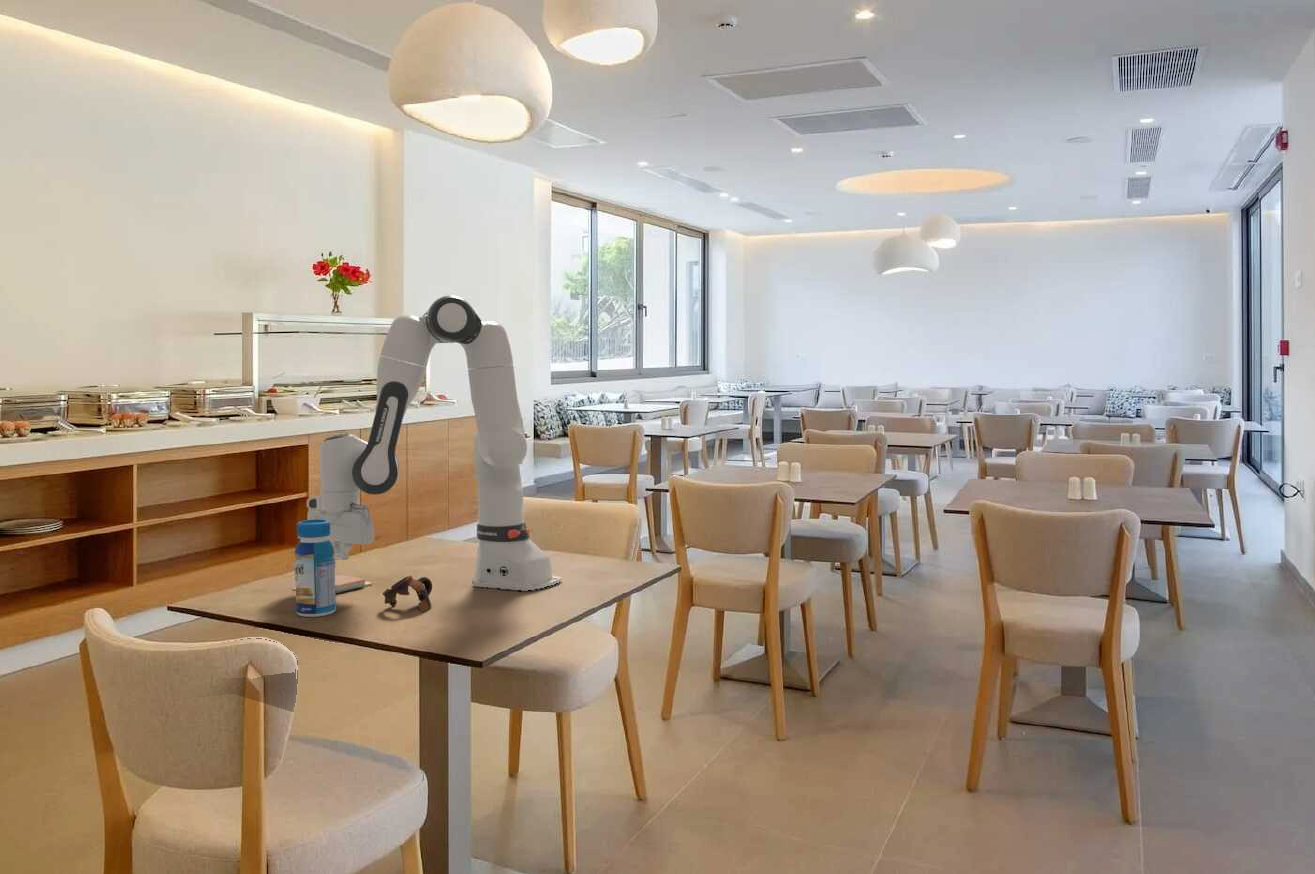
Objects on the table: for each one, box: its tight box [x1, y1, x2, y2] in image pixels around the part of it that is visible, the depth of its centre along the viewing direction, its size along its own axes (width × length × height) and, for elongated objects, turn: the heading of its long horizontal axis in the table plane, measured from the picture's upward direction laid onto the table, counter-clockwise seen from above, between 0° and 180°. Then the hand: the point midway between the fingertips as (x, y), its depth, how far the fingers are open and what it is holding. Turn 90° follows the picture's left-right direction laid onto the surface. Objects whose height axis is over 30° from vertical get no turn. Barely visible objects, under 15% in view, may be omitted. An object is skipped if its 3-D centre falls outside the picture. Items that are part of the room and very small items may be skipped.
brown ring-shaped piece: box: [382, 575, 433, 613], centre depth 219 cm, size 12×10×8 cm
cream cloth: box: [292, 581, 374, 595], centre depth 239 cm, size 12×14×1 cm
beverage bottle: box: [293, 519, 337, 618], centre depth 213 cm, size 8×8×20 cm
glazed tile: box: [335, 574, 366, 593], centre depth 237 cm, size 2×8×9 cm
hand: (341, 559), depth 236 cm, fingers closed
